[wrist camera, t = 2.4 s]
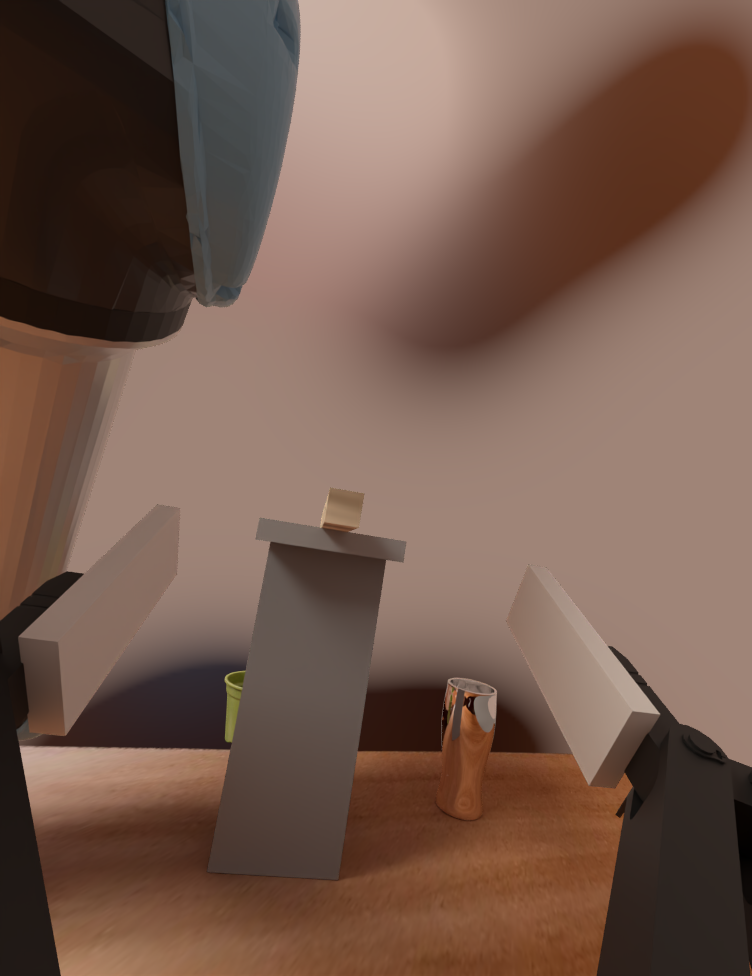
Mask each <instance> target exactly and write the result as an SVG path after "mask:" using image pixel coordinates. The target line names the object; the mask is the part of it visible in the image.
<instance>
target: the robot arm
mask: <svg viewBox="0 0 752 976" xmlns="http://www.w3.org/2000/svg"><path fill="white" fill-rule="evenodd" d="M299 54H300V13H299V4H298V0H0V976H61V974H60V969H59V963H58V958H57V952H56V947H55V941H54V936H53V930H52V925H51V919H50V913H49V908H48V902H47V897H46V891H45V886H44V880H43V875H42V869H41V863H40V858H39V852H38V847H37V841H36V836H35V830H34V825H33V819H32V814H31V808H30V802H29V797H28V791H27V786H26V780H25V775H24V769H23V764H22V758H21V753H20V747H19V741H21V740H28V739H32V738H35V737H38V736H40V735H42V734H51V735H62V736H65V735H66V734H67V733H68V731H69V730H70V728H71V727H72V726H73V724H74V723H75V721H76V720H77V718H78V717H79V715H80V714H81V713H82V711H83V709H84V708H85V707H86V705H87V704H88V702H89V701H90V699H91V698H92V697H93V695H94V694H95V692H96V691H97V689H98V688H99V686H100V685H101V683H102V682H103V681H104V679H105V678H106V676H107V675H108V673H109V672H110V670H111V669H112V667H113V666H114V665H115V663H116V661H117V660H118V659H119V657H120V656H121V654H122V653H123V652H124V650H125V649H126V647H127V646H128V644H129V643H130V641H131V640H132V638H133V637H134V636H135V634H136V633H137V631H138V630H139V628H140V626H141V625H142V624H143V622H144V621H145V620H146V618H147V617H148V615H149V614H150V612H151V611H152V609H153V608H154V607H155V605H156V604H157V602H158V601H159V599H160V598H161V596H162V595H163V593H164V592H165V591H166V589H167V588H168V586H169V585H170V583H171V582H172V580H173V579H174V577H175V576H176V575H177V563H178V562H177V561H178V541H179V520H180V508H176V507H170V506H164V505H158V504H157V505H156V506H155V507H154V508H153V509H152V510H151V511H150V512H149V513H148V514H147V515H146V516H145V517H144V518H143V519H142V520H141V521H139V522H138V523H137V524H136V525H135V526H134V527H133V528H132V529H131V530H130V531H129V532H128V533H127V534H126V535H125V536H124V537H123V538H122V539H121V540H119V541H118V542H117V543H116V544H115V545H114V546H113V547H112V548H111V549H110V550H109V551H108V552H107V553H106V554H105V555H104V556H103V557H102V558H101V559H100V560H99V561H97V562H96V563H95V564H94V565H93V566H92V567H91V568H90V569H89V570H88V571H87V572H86V573H85V574H82V573H74V572H66V571H67V568H68V565H69V562H70V558H71V555H72V552H73V549H74V546H75V542H76V539H77V536H78V533H79V530H80V527H81V523H82V520H83V517H84V514H85V511H86V507H87V504H88V501H89V497H90V495H91V491H92V488H93V485H94V482H95V479H96V476H97V472H98V469H99V466H100V463H101V460H102V457H103V453H104V450H105V447H106V444H107V441H108V437H109V434H110V431H111V428H112V425H113V422H114V418H115V415H116V412H117V409H118V405H119V402H120V399H121V396H122V393H123V389H124V386H125V383H126V380H127V377H128V373H129V371H130V367H131V364H132V361H133V358H134V355H135V351H136V350H138V349H142V348H147V347H152V346H156V345H160V344H163V343H165V342H168V341H170V340H171V339H173V338H174V337H175V336H177V334H178V333H179V332H180V330H181V328H182V326H183V323H184V320H185V317H186V314H187V312H188V309H189V306H190V303H191V301H192V299H193V297H196V299H197V300H198V302H199V303H200V304H202V305H203V306H205V307H210V306H212V305H213V306H218V307H228V306H230V305H232V304H233V303H234V302H235V301H236V300H237V299H238V296H239V294H240V291H241V288H242V285H244V284H245V283H246V281H247V279H248V277H249V275H250V273H251V270H252V268H253V265H254V262H255V260H256V257H257V254H258V251H259V248H260V245H261V241H262V238H263V235H264V231H265V228H266V225H267V221H268V218H269V214H270V211H271V207H272V203H273V199H274V195H275V192H276V188H277V183H278V179H279V175H280V171H281V167H282V162H283V157H284V152H285V147H286V142H287V137H288V132H289V127H290V123H291V117H292V111H293V104H294V98H295V91H296V83H297V75H298V64H299ZM506 622H507V624H508V626H509V628H510V630H511V632H512V634H513V636H514V638H515V640H516V642H517V644H518V646H519V648H520V650H521V652H522V654H523V656H524V658H525V660H526V662H527V664H528V666H529V668H530V670H531V672H532V673H533V676H534V678H535V680H536V682H537V683H538V686H539V687H540V690H541V692H542V693H543V696H544V698H545V700H546V701H547V703H548V705H549V707H550V709H551V711H552V713H553V715H554V717H555V719H556V721H557V723H558V725H559V727H560V729H561V731H562V733H563V735H564V737H565V739H566V741H567V743H568V745H569V747H570V749H571V751H572V753H573V755H574V757H575V759H576V761H577V763H578V765H579V767H580V769H581V771H582V773H583V775H584V777H585V779H586V781H587V783H588V785H589V786H596V787H607V788H615V787H616V786H617V784H618V783H619V781H620V779H621V778H622V776H623V774H624V773H626V775H627V777H628V779H629V780H630V782H631V784H632V785H633V788H632V789H631V791H630V792H629V794H628V795H627V797H626V798H625V800H624V802H623V803H622V805H621V806H620V808H619V809H618V811H617V813H616V815H617V816H618V817H619V818H620V817H621V816H622V814H623V813H624V819H623V825H622V830H621V836H620V842H619V848H618V854H617V860H616V866H615V871H614V877H613V883H612V889H611V895H610V901H609V907H608V913H607V918H606V924H605V930H604V936H603V942H602V948H601V954H600V959H599V965H598V971H597V976H750V967H749V962H750V965H751V968H752V767H749V766H746V765H744V764H741V763H739V762H736V761H733V760H730V759H728V757H727V756H726V755H725V753H724V752H723V751H722V749H721V748H720V747H719V746H718V745H717V744H716V743H714V742H713V741H712V740H711V739H710V738H709V737H707V736H706V735H704V734H703V733H701V732H700V731H698V730H696V729H694V728H692V727H690V726H687V725H682V724H679V723H678V722H677V720H676V719H675V718H674V716H673V715H672V714H671V713H670V711H669V710H668V709H667V708H666V706H665V705H664V704H663V703H662V701H661V700H660V699H659V698H658V696H657V695H656V694H655V693H654V692H653V690H652V689H651V688H650V686H647V683H646V682H645V680H644V679H643V678H642V677H641V676H640V675H638V672H637V670H636V669H635V668H634V667H633V665H632V664H631V663H630V662H629V660H628V659H626V657H624V656H623V655H622V654H621V653H619V652H618V651H617V650H616V649H615V648H613V647H611V646H607V645H606V644H605V642H604V641H603V640H602V638H601V637H600V636H599V635H598V633H597V632H596V631H595V629H594V628H593V627H592V626H591V624H590V623H589V622H588V620H587V619H586V618H585V616H584V615H583V614H582V613H581V611H580V610H579V609H578V608H577V606H576V605H575V604H574V602H573V601H572V600H571V598H570V597H569V596H568V595H567V594H566V592H565V591H564V589H563V588H562V587H561V585H560V584H559V583H558V582H557V580H556V579H555V578H554V576H553V575H552V574H551V573H550V571H549V570H548V569H547V568H546V567H541V566H534V565H528V567H527V569H526V572H525V574H524V577H523V579H522V582H521V584H520V587H519V589H518V592H517V595H516V597H515V600H514V602H513V605H512V607H511V610H510V612H509V615H508V617H507V620H506Z"/></svg>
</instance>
